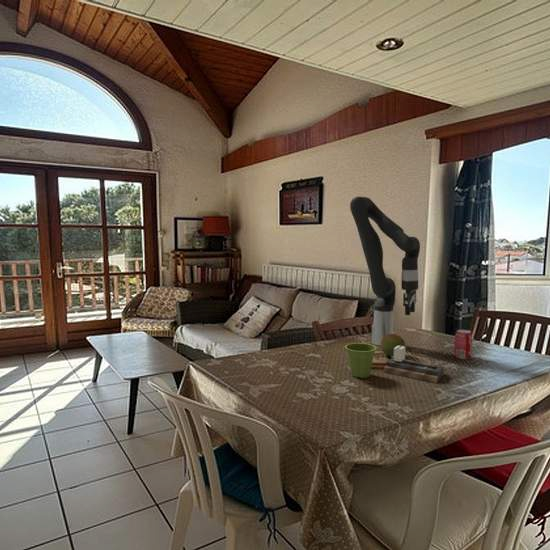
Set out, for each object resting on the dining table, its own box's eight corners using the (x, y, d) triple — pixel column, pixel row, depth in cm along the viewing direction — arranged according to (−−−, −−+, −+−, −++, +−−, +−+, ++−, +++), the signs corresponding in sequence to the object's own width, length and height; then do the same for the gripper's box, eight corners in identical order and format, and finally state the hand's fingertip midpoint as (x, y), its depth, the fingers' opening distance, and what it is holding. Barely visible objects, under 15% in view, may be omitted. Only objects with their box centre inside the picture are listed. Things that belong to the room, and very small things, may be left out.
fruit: (396, 351, 185) (397, 330, 184) (413, 359, 173) (414, 337, 172) (374, 354, 181) (375, 332, 180) (390, 362, 169) (391, 339, 168)
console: (383, 372, 157) (383, 362, 156) (394, 364, 166) (394, 355, 166) (435, 383, 145) (436, 373, 144) (444, 374, 154) (445, 364, 154)
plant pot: (355, 368, 162) (356, 341, 161) (381, 375, 153) (382, 346, 152) (338, 375, 153) (339, 346, 152) (364, 383, 145) (365, 353, 144)
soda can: (467, 355, 179) (469, 329, 177) (474, 360, 172) (475, 333, 170) (451, 355, 179) (452, 329, 178) (457, 359, 172) (458, 332, 171)
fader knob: (393, 365, 158) (393, 347, 157) (397, 362, 162) (398, 344, 161) (400, 366, 156) (401, 348, 155) (404, 363, 160) (405, 346, 159)
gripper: (405, 277, 193) (405, 310, 194) (397, 280, 181) (397, 315, 182) (421, 278, 189) (421, 311, 190) (414, 281, 177) (414, 316, 178)
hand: (410, 313), depth 186 cm, fingers open, 8 cm apart
